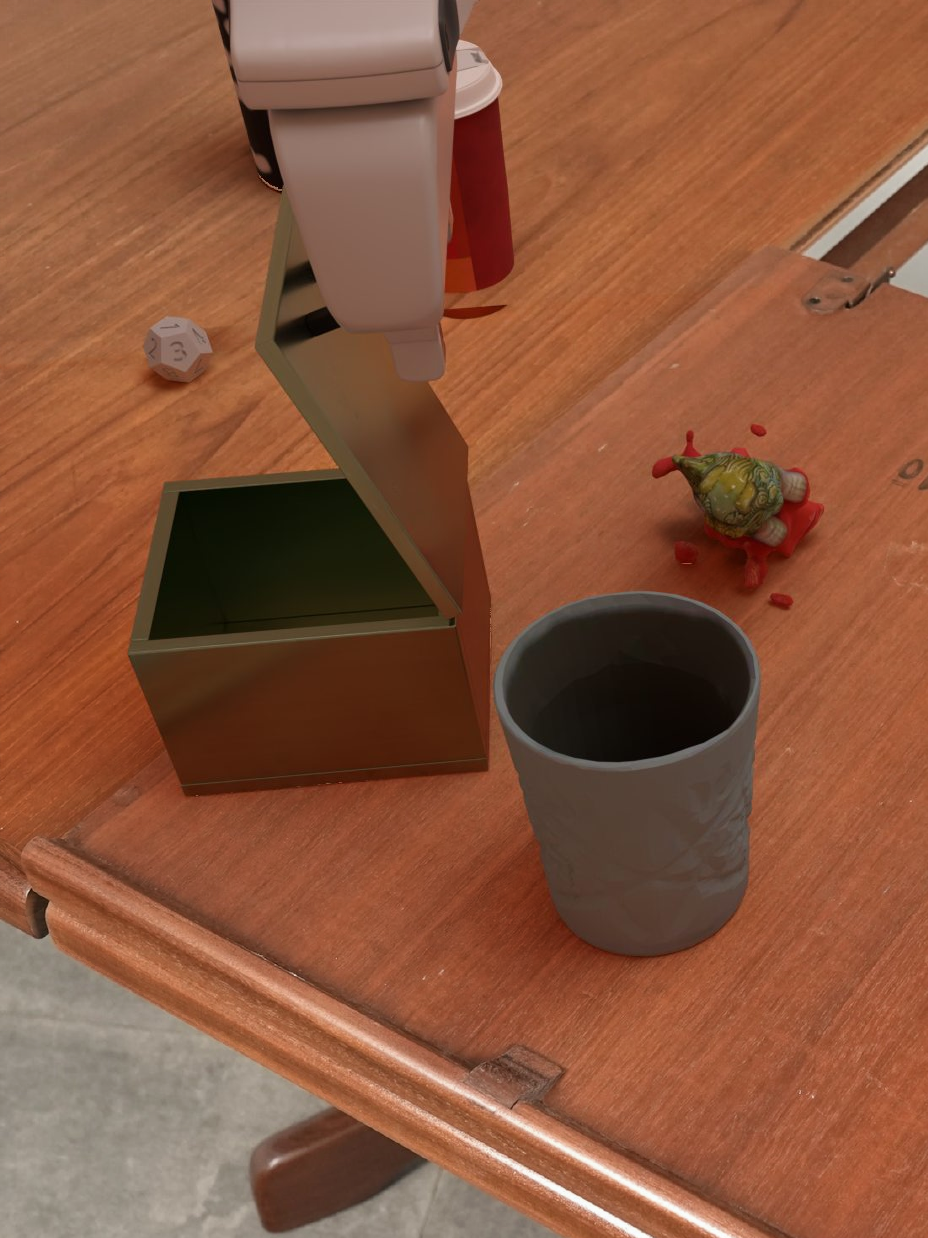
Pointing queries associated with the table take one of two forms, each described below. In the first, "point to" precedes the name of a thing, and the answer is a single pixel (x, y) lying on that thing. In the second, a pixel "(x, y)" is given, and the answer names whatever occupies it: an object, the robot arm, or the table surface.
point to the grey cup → (635, 764)
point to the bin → (303, 641)
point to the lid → (369, 419)
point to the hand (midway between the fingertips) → (428, 301)
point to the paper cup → (477, 185)
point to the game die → (177, 349)
